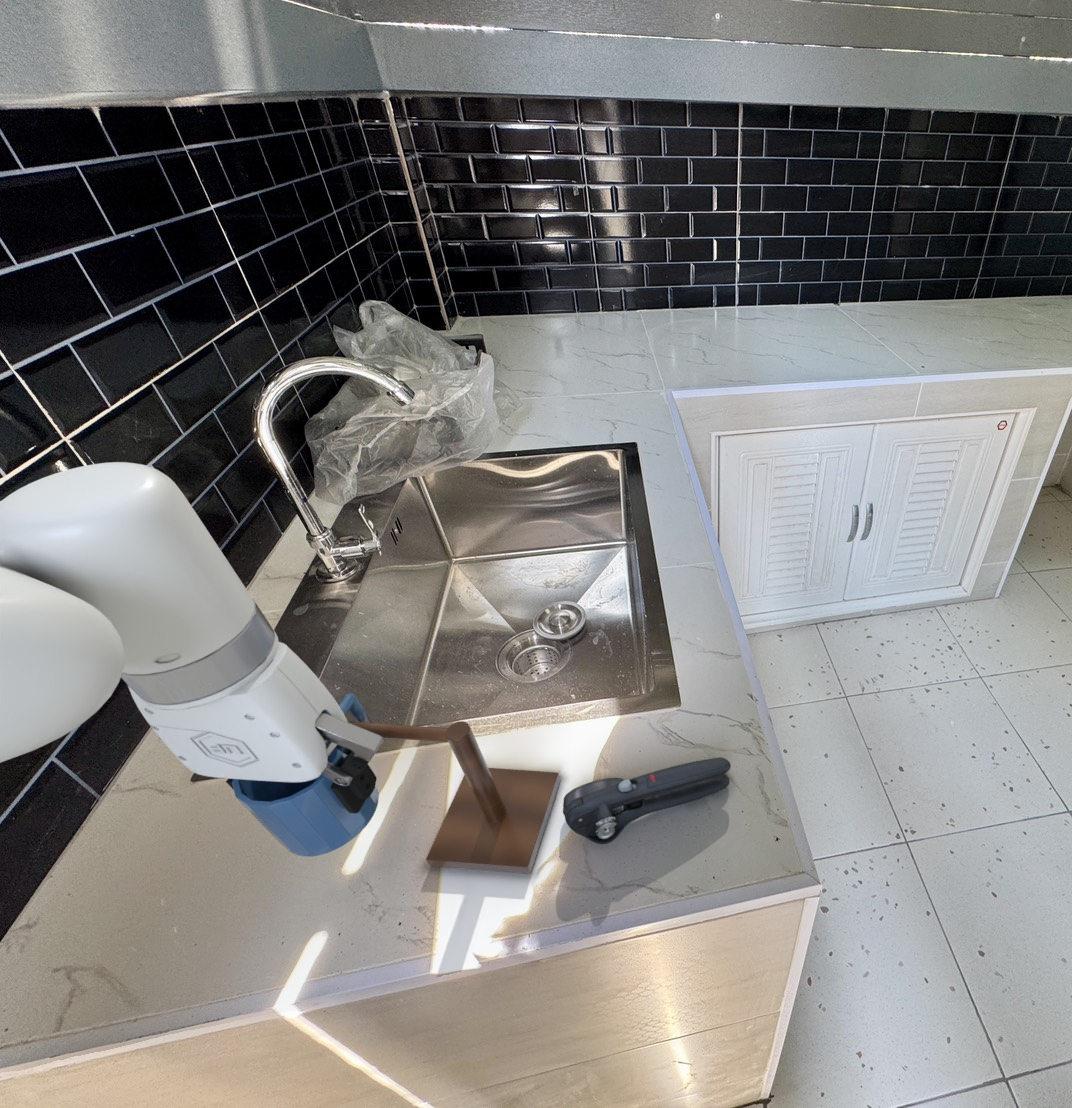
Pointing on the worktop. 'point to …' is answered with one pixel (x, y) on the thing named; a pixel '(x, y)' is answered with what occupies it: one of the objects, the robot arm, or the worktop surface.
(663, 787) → the can opener
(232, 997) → the worktop surface
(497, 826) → the mug stand
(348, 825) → the mug
